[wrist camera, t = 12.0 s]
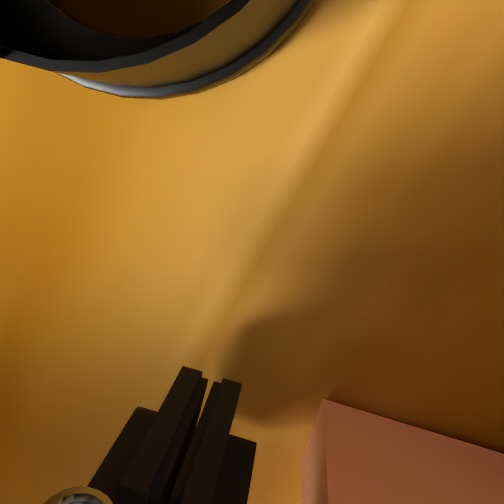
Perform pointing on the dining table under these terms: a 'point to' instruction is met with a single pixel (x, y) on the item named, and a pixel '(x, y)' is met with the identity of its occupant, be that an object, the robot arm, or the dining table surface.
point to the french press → (148, 47)
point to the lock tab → (393, 463)
